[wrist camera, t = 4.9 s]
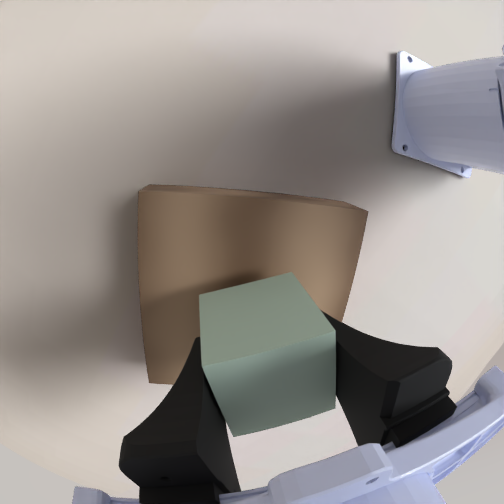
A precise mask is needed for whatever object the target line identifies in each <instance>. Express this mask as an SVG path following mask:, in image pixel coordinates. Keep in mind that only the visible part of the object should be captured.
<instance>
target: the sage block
mask: <svg viewBox="0 0 504 504" xmlns="http://www.w3.org/2000/svg"><path fill="white" fill-rule="evenodd" d="M199 311H200V339H201V360H202V368H203V370H204V373H205V375H206V378H207V380H208V382H209V385H210V387H211V389H212V392H213V394H214V396H215V398H216V401H217V403H218V405H219V407H220V409H221V412H222V414H223V416H224V418H225V420H226V422H227V424H228V427H229V429H230V431H231V433H232V435H233V437H236V436H240V435H245V434H250V433H254V432H258V431H262V430H266V429H270V428H274V427H278V426H282V425H285V424H289V423H292V422H295V421H299V420H302V419H305V418H308V417H311V416H314V415H317V414H320V413H323V412H326V411H329V410H332V409H334V408H335V401H336V331H335V329H334V328H333V327H332V325H331V324H330V322H329V321H328V320H327V318H326V317H325V316H324V314H323V313H322V312H321V310H320V309H319V308H318V306H317V305H316V304H315V302H314V301H313V300H312V298H311V297H310V296H309V294H308V293H307V291H306V290H305V289H304V287H303V286H302V285H301V284H300V282H299V281H298V280H297V278H296V277H295V276H294V274H293V273H292V272H289V273H286V274H282V275H278V276H274V277H270V278H266V279H262V280H258V281H254V282H250V283H246V284H242V285H238V286H234V287H229V288H225V289H221V290H217V291H213V292H208V293H204V294H200V295H199Z"/></svg>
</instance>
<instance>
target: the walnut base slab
mask: <svg viewBox="0 0 504 504" xmlns="http://www.w3.org/2000/svg"><path fill="white" fill-rule="evenodd" d="M367 215H368V211H366V210H364V209H361V208H359V207H356V206H354V205H351V204H349V203H346V202H343V201H336V200H328V199H321V198H313V197H305V196H296V195H288V194H278V193H269V192H258V191H248V190H236V189H223V188H209V187H193V186H175V185H151V184H149V185H148V186H146V187H144V188H143V189H141V190H140V191H139V192H138V274H139V294H140V308H141V321H142V331H143V341H144V349H145V358H146V365H147V372H148V379H149V383H156V384H173V385H174V383H175V382H176V380H177V378H178V376H179V374H180V372H181V371H182V369H183V366H184V364H185V362H186V360H187V358H188V355H189V353H190V350H191V348H192V345H193V342H194V340H195V338H196V337H200V311H199V295H200V294H204V293H208V292H213V291H217V290H221V289H225V288H229V287H234V286H238V285H242V284H246V283H250V282H254V281H258V280H262V279H266V278H270V277H274V276H278V275H282V274H286V273H289V272H292V273H293V274H294V276H295V277H296V278H297V280H298V281H299V282H300V284H301V285H302V286H303V287H304V289H305V290H306V291H307V293H308V294H309V296H310V297H311V298H312V300H313V301H314V302H315V304H316V305H317V306H318V308H319V309H320V310H322V311H323V312H325V313H326V314H328V315H330V316H331V317H333V318H335V319H337V320H338V321H340V322H342V319H343V316H344V312H345V309H346V305H347V302H348V298H349V294H350V291H351V287H352V283H353V279H354V275H355V271H356V267H357V263H358V258H359V254H360V249H361V245H362V240H363V236H364V231H365V226H366V221H367Z"/></svg>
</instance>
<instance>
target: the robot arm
mask: <svg viewBox="0 0 504 504" xmlns="http://www.w3.org/2000/svg"><path fill="white" fill-rule="evenodd" d="M502 51H503V54H504V45H503V47H502ZM407 58H408V59H409V61H408V59H407ZM403 145H404V148H405V149H404V151H403ZM392 149H393V151H394V152H395V153H398V154H401V155H404V156H408V157H411V158H414V159H417V160H420V161H422V162H425V163H428V164H431V165H434V166H436V167H439V168H442V169H445V170H447V171H450V172H452V173H455V174H457V175H460V176H462V177H465V178H470V176H471V171H472V168H477V169H482V170H486V171H491V172H496V173H500V174H504V56H501V57H492V58H484V59H476V60H470V61H463V62H457V63H452V64H447V65H442V66H437V67H432V66H430V65H429V64H427V63H425V62H423V61H422V60H420V59H418V58H416V57H414V56H412V55H410V54H408V53H407V52H405V51H400V52H398V53H397V75H396V99H395V114H394V126H393V136H392ZM321 312H322V313H323V314H324V316H325V317H326V318H327V320H328V321H329V322H330V324H331V325H332V327H333V328H334V329H335V331H336V396H337V398H338V400H339V402H340V404H341V407H342V409H343V411H344V413H345V415H346V418H347V420H348V422H349V425H350V427H351V429H352V432H353V434H354V437H355V439H356V442H357V444H358V447H355V448H353V449H350V450H348V451H345V452H343V453H340V454H338V455H335V456H332V457H329V458H327V459H324V460H321V461H318V462H315V463H312V464H309V465H305V466H302V467H299V468H295V469H292V470H289V471H287V472H284V473H281V474H279V475H277V476H276V477H274V478H273V479H271V480H270V481H269V483H268V486H266V487H261V488H257V489H252V490H246V491H241V489H240V485H239V482H238V478H237V474H236V470H235V466H234V462H233V458H232V453H231V449H230V444H229V439H228V434H227V429H226V420H225V418H224V416H223V414H222V412H221V409H220V407H219V405H218V403H217V401H216V398H215V396H214V394H213V392H212V389H211V387H210V385H209V382H208V380H207V378H206V375H205V373H204V370H203V368H202V360H201V339H200V337H196V338H195V340H194V342H193V345H192V348H191V350H190V353H189V355H188V358H187V360H186V362H185V364H184V366H183V369H182V371H181V372H180V374H179V376H178V378H177V380H176V382H175V383H174V385H173V387H172V388H171V390H170V391H169V393H168V394H167V396H166V397H165V398H164V399H163V401H162V402H161V403H160V404H159V406H158V407H157V408H156V409H155V410H154V411H153V412H152V413H151V414H150V415H149V417H147V418H146V419H145V420H144V421H143V422H142V423H141V424H140V425H139V426H137V427H136V428H135V429H134V430H132V431H131V432H130V433H128V434H127V435H126V436H124V438H123V442H122V445H121V451H120V459H119V468H120V470H121V471H122V472H123V473H124V474H125V475H126V476H127V477H128V478H129V479H131V480H132V481H133V482H134V483H136V484H137V485H138V486H139V487H140V491H139V499H132V498H116V497H110V496H109V495H108V494H106V493H105V492H103V491H101V490H98V489H94V488H85V487H78V486H77V487H75V489H74V496H73V502H72V504H446V502H445V501H444V499H443V497H442V496H441V494H440V493H439V491H438V490H437V488H436V486H435V484H436V483H437V482H439V481H440V480H442V479H443V478H445V477H446V476H447V475H449V474H450V473H451V472H453V471H454V470H455V469H456V468H457V467H459V466H460V465H461V464H463V463H464V462H465V461H466V460H467V459H468V458H470V457H471V456H472V455H473V454H474V453H475V452H477V451H478V450H479V449H480V448H481V447H482V446H484V445H485V444H486V443H487V442H488V441H489V440H490V439H491V438H492V437H493V436H494V435H495V434H497V433H498V431H500V430H501V429H502V428H503V427H504V373H503V372H502V371H501V370H500V369H499V368H498V367H497V366H494V367H492V368H491V369H490V370H489V371H487V372H486V373H485V374H484V375H482V376H481V378H480V379H479V380H478V381H477V383H476V385H475V388H474V390H473V391H472V392H471V393H469V394H468V395H467V396H465V397H464V398H463V399H461V400H460V401H458V402H457V403H454V402H453V401H452V400H451V399H450V398H449V396H448V395H449V393H450V392H449V390H448V389H447V388H446V387H445V386H446V384H447V381H448V379H449V376H450V374H451V370H452V361H451V359H450V358H449V357H448V356H447V355H446V354H445V353H443V352H442V351H441V350H440V349H439V348H438V347H418V346H410V345H403V344H398V343H394V342H389V341H385V340H382V339H379V338H376V337H373V336H370V335H367V334H365V333H362V332H360V331H358V330H356V329H354V328H352V327H350V326H348V325H346V324H344V323H342V322H340V321H338V320H337V319H335V318H333V317H331V316H330V315H328V314H326V313H325V312H323V311H322V310H321Z"/></svg>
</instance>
